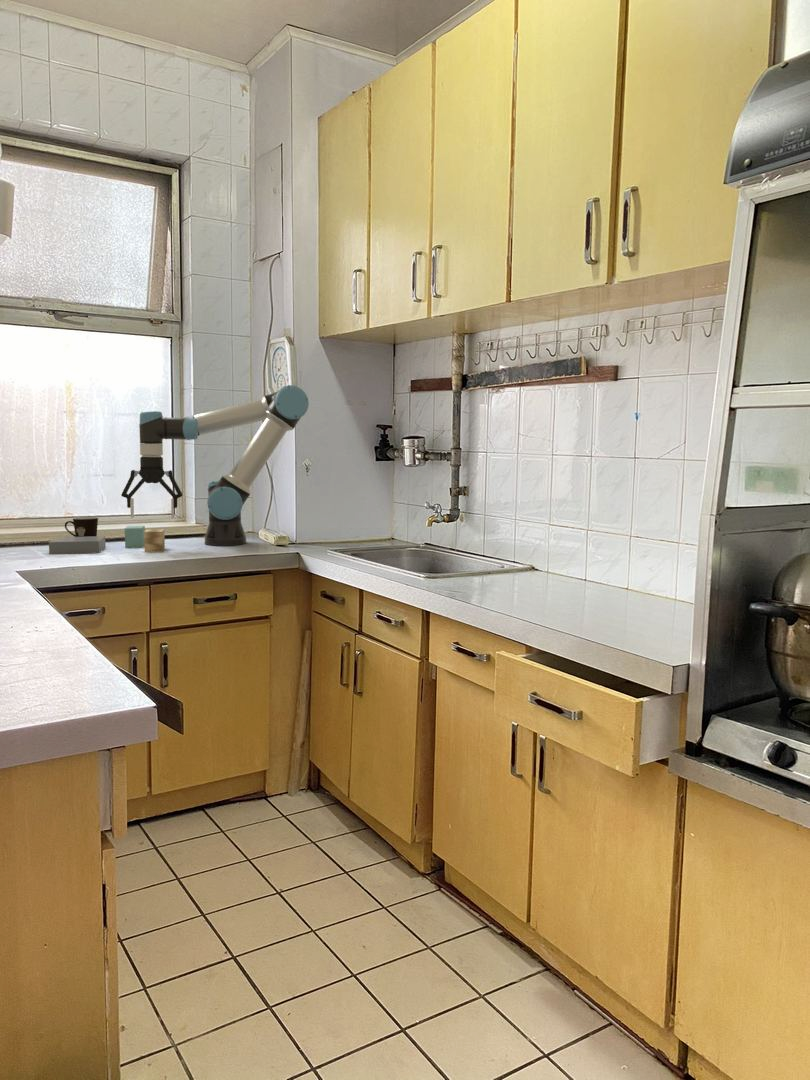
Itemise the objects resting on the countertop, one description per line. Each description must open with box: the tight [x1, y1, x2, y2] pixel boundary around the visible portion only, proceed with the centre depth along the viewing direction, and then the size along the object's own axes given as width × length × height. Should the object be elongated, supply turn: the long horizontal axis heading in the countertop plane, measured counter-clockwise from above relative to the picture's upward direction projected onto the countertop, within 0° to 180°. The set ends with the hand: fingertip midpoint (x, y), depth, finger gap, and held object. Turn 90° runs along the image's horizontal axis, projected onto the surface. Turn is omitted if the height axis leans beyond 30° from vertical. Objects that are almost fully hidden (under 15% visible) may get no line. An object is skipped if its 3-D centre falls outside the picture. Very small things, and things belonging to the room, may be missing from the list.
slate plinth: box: [48, 535, 107, 555], centre depth 287 cm, size 16×14×4 cm
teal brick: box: [124, 525, 146, 549], centre depth 299 cm, size 6×8×7 cm
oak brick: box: [144, 528, 166, 553], centre depth 289 cm, size 6×8×7 cm
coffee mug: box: [64, 516, 99, 537], centre depth 300 cm, size 12×9×10 cm
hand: (152, 517), depth 287 cm, fingers open, 13 cm apart
